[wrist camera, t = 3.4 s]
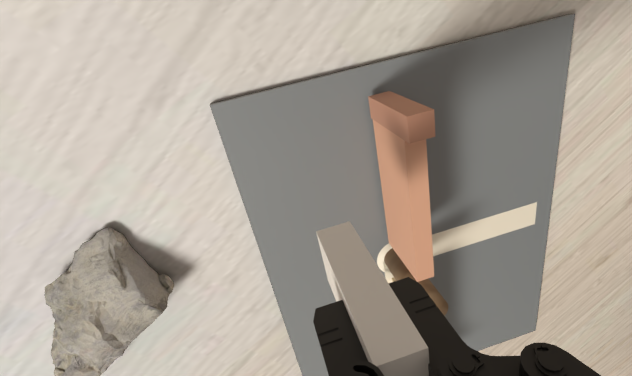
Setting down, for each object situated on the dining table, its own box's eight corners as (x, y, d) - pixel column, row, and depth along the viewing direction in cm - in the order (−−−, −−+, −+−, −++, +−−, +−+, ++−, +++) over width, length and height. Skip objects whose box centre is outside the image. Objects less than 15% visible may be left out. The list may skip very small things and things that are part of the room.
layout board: (569, 14, 23) (574, 13, 23) (532, 327, 37) (535, 330, 36) (210, 103, 21) (209, 105, 20) (313, 404, 34) (313, 408, 34)
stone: (4, 338, 25) (-36, 395, 21) (98, 217, 22) (72, 257, 18) (95, 367, 27) (74, 422, 24) (188, 263, 25) (181, 306, 21)
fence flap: (404, 237, 27) (442, 284, 22) (387, 243, 27) (421, 290, 22) (389, 90, 22) (434, 109, 17) (368, 96, 22) (407, 116, 17)
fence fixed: (382, 250, 27) (419, 304, 22) (406, 243, 28) (448, 295, 22) (399, 367, 34) (430, 430, 29) (418, 360, 34) (452, 422, 29)
